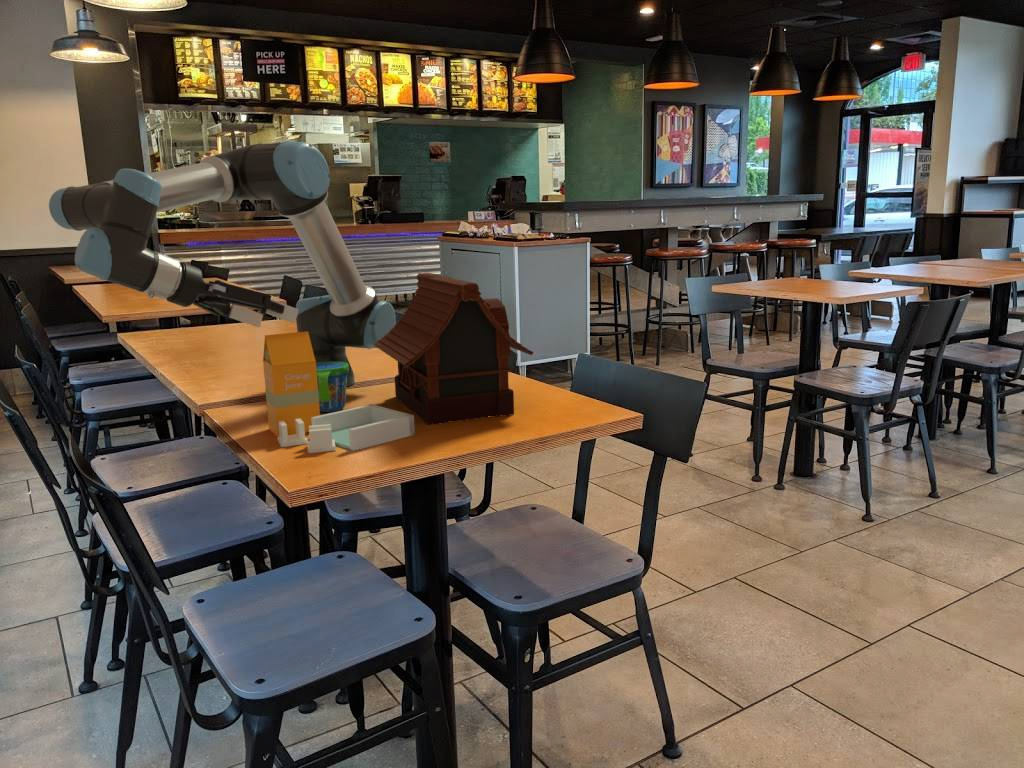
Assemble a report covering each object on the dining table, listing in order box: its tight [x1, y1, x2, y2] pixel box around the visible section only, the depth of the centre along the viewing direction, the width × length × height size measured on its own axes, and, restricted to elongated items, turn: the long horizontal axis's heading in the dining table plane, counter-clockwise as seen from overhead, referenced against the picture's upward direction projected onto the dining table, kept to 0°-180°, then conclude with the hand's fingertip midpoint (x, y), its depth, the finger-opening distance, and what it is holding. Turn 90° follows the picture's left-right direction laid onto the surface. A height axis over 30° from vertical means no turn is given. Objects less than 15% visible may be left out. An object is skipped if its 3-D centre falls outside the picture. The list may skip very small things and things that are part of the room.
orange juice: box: [262, 331, 321, 437], centre depth 157 cm, size 8×9×20 cm
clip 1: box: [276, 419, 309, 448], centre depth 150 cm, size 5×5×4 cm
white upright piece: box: [307, 424, 337, 454], centre depth 145 cm, size 5×5×4 cm
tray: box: [311, 403, 416, 452], centre depth 153 cm, size 14×14×4 cm
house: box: [374, 272, 534, 426], centre depth 175 cm, size 35×28×29 cm
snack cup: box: [316, 362, 349, 413], centre depth 175 cm, size 16×10×10 cm
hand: (277, 318), depth 153 cm, fingers open, 13 cm apart
